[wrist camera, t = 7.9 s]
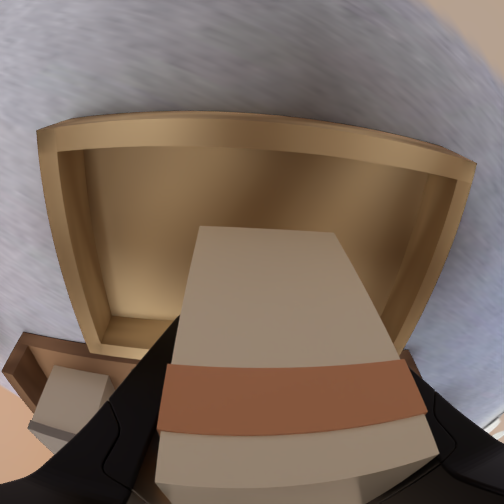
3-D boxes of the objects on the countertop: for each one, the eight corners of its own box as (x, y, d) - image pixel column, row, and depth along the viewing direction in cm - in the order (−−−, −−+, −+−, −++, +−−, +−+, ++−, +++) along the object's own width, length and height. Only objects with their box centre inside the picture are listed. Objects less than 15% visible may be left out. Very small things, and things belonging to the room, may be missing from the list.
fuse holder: (408, 349, 17) (428, 391, 14) (371, 406, 21) (383, 443, 18) (23, 331, 15) (1, 371, 12) (58, 392, 19) (46, 427, 16)
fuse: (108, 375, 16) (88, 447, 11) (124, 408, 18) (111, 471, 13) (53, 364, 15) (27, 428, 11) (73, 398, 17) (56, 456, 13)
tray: (440, 146, 11) (477, 163, 8) (382, 325, 16) (397, 358, 14) (71, 118, 9) (36, 130, 7) (104, 317, 15) (90, 352, 12)
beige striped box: (311, 329, 11) (353, 511, 5) (200, 327, 11) (185, 521, 5) (335, 231, 9) (444, 450, 3) (198, 224, 9) (150, 480, 3)
